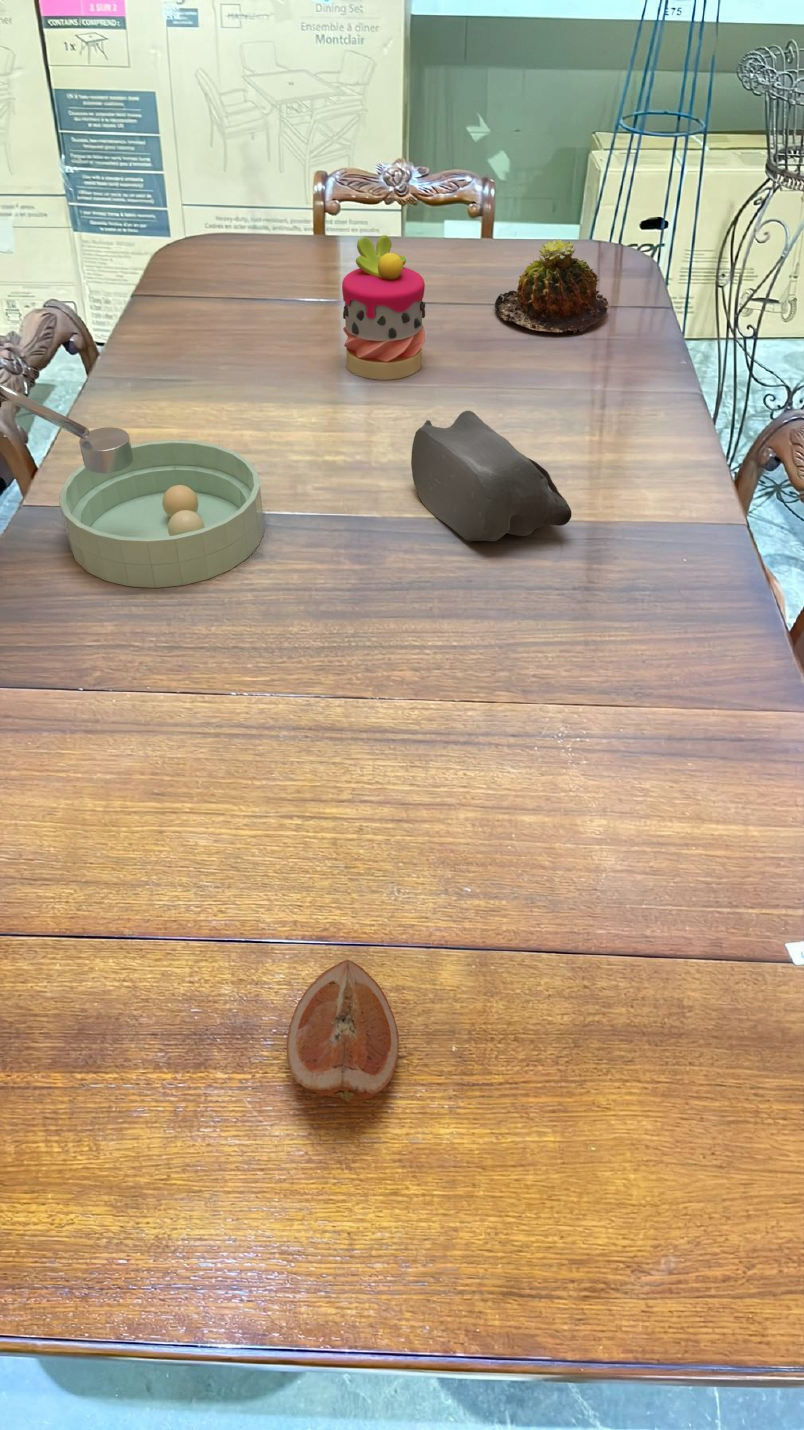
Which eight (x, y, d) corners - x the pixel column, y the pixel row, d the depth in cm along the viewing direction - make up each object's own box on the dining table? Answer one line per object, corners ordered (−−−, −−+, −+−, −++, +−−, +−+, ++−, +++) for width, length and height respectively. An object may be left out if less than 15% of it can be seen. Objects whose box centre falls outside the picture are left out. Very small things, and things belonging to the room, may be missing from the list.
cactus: (493, 289, 160) (497, 220, 154) (600, 291, 160) (609, 222, 153) (495, 336, 147) (500, 263, 141) (613, 338, 147) (623, 265, 140)
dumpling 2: (170, 555, 106) (165, 524, 103) (170, 536, 108) (165, 504, 106) (207, 552, 106) (203, 520, 104) (206, 533, 109) (202, 501, 106)
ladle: (133, 447, 105) (114, 344, 98) (132, 471, 101) (112, 366, 94) (-11, 459, 103) (-42, 354, 96) (-17, 483, 100) (-49, 377, 93)
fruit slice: (397, 1129, 63) (397, 1085, 59) (281, 1127, 63) (275, 1082, 59) (400, 1004, 69) (400, 958, 66) (295, 1002, 69) (289, 956, 66)
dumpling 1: (165, 529, 109) (160, 498, 107) (165, 510, 112) (159, 479, 110) (201, 526, 110) (196, 495, 107) (200, 507, 112) (195, 477, 110)
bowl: (66, 603, 101) (52, 549, 97) (77, 499, 115) (66, 447, 111) (271, 584, 104) (266, 530, 100) (257, 484, 118) (252, 433, 114)
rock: (584, 537, 110) (593, 467, 104) (490, 568, 106) (495, 496, 100) (486, 460, 122) (490, 394, 117) (399, 485, 118) (399, 418, 112)
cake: (441, 362, 141) (444, 244, 131) (384, 388, 135) (383, 266, 125) (383, 340, 146) (382, 224, 136) (327, 364, 141) (321, 245, 131)
